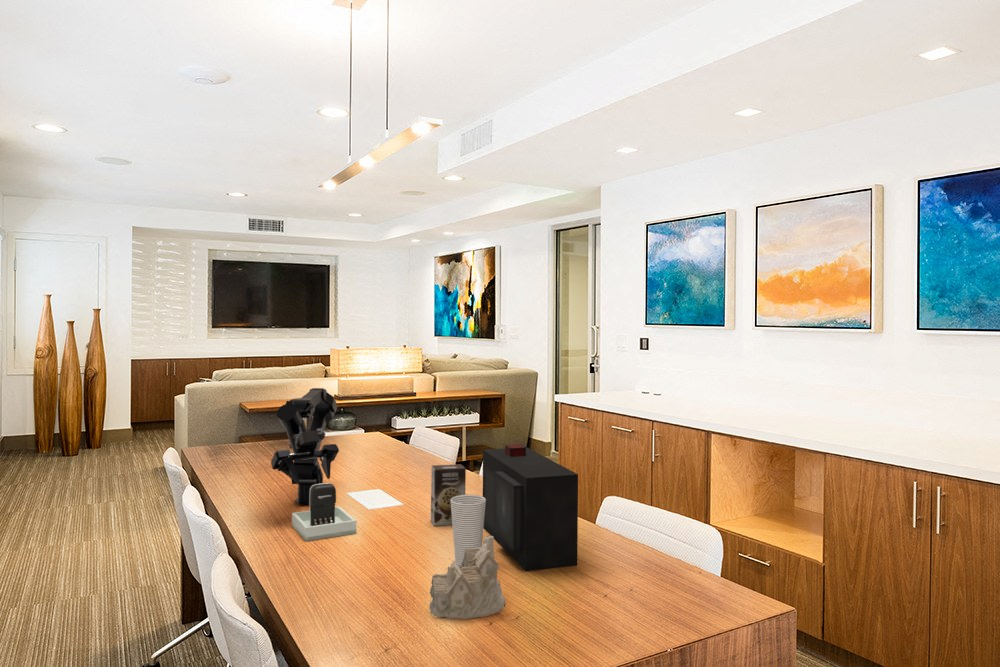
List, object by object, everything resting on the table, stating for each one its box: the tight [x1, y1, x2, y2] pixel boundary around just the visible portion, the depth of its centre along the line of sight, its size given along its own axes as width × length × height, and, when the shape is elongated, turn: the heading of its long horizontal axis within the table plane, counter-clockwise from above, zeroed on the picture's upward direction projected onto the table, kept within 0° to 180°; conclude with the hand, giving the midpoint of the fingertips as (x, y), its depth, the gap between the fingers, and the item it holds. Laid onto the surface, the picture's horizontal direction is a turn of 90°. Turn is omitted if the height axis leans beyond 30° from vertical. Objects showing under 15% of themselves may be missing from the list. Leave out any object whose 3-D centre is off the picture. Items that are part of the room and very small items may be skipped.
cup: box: [451, 494, 486, 568], centre depth 163 cm, size 8×8×16 cm
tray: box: [291, 506, 357, 542], centre depth 188 cm, size 16×14×4 cm
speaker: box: [482, 444, 579, 572], centre depth 176 cm, size 15×35×24 cm, turn 18°
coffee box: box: [430, 463, 467, 527], centre depth 195 cm, size 9×6×16 cm
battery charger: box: [308, 482, 337, 526], centre depth 188 cm, size 7×4×11 cm, turn 117°
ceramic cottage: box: [429, 535, 506, 620], centre depth 141 cm, size 16×16×15 cm
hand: (313, 480), depth 194 cm, fingers open, 9 cm apart
